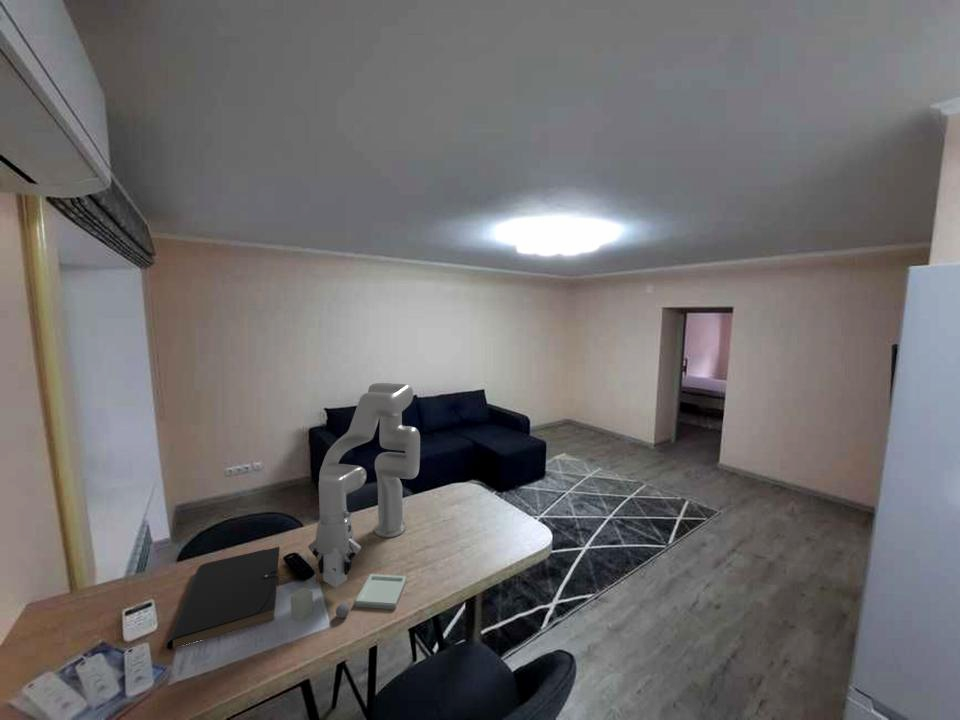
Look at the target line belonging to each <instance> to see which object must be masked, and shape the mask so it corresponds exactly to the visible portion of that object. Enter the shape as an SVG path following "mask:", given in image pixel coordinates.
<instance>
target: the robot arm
mask: <svg viewBox="0 0 960 720" xmlns="http://www.w3.org/2000/svg"><path fill="white" fill-rule="evenodd" d="M413 399H414V391H413V387H411V385H409V384H407V383H391V382H390V383H389V382H376V383H372V384H371V385H369V387H368V389H367V392H366V393H364V394H362V395H361V396H360V398H359V401H358V403H357V406H356V409H355V411H354V413H353V416H352V419H351V422H350V426H349V428H348V430H347V432H346V433H344V434H343V435H342V436H341V437H339V438H338V439H337V440H336V441H335V442H334V443H333V444H332V445H331V446H330V447H329V449H328V450H327V452H326V454H325V456H324V459H323V461H322V465H321V466H320V470H319V475H318V476H319V478H318V479H319V481H318V500H319V502H318V503H319V507H318V508H319V519H318V521H317V525H316V533H315V534H316V535H315V540H313V541H312V542H311V543H310V544H308V546H307V548H308V550H309V551H310V552H311V553H312V555H313V556H314V557H315V558H316V559H315V560H316V561H317V563H318V567H319V571H320V573H323V553H324V554H331V553H332V549H333V548H339V554H342V555H343V557H344V559H345V562H344V574H345V575H347V576H348V574H349V572H350V571H352V568H353V563H352V562H353V559H354V557H356V555H357V554H358V553H359V552H360V550H361V549H362V546H361V545H360V544H359V543H357V542H356V541H355V540H354V530H353V525H352V521H351V518H350V517H351V516H352V512H349V511H348V508H347V496H348V494H350V493H353V492H355V491H357V490H359V489H361V487H362V486H363V485H364V484H365V483H366V480H367V471H366V469H365V468H364V467H362V466H360V465H355V464H348V463H347V464H346V463H339V462H340V461H341V459H342V457H343V456H345V454H346V453H347V452H348V451H350V450H352V449H354V448H356V447H358V446H361V445H364V444H366V443H369V442H371V441H372V440H373V439H374V436H375V433H376V430H377V427H378V424H379V445H380V447H381V448H383V449H384V450H385V449H386V450H393V451H402V452H393V451H386V452H381V453H379V454H378V455H377V456H376V458H375V460H374V470H375V474H376V479H377V482H376V483H377V514H378V522H377V523H376V524H375V525H374V529H373V530H374V534H376V536H379V537H382V538H393V537H397V536H400V535H402V534H403V533H405V531H406V530H407V528H408V527H407V522H405V520H403V517H404V516H403V513H404V512H403V484H402V481H401V480H400V479H405V480H413V479H415V478H416V477H417V476H418V474H419V471H420V463H421V462H420V461H421V434H420V432H419V430H418V428H416V427H414V426H410V425H407V426H406V425H403V422H402V420H403V416H402V415H403V414H402V413H403V411H405V410H406V409H407V408H408V407H409V406H410V405H411V404H412V402H413ZM403 451H404V452H403ZM351 548H352V549H353V551H352V549H351Z"/></svg>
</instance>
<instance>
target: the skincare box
mask: <svg viewBox="0 0 960 720" xmlns="http://www.w3.org/2000/svg"><path fill="white" fill-rule="evenodd" d="M344 562H345V559H344V557H343V555H342V554H339V548H333V549H332V553H331V554H324V553H323V580H324V581H325V583H327V584H328V585H330V586H332V587H333V588H337V587H339V586H340V585H342V584H343V583H344V582H345V581H347V580H348V574H347V575H345V574H344Z"/></svg>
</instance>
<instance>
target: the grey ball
mask: <svg viewBox="0 0 960 720" xmlns="http://www.w3.org/2000/svg"><path fill="white" fill-rule="evenodd" d="M349 613H350V605H349V604H348V603H347V602H342V603H339V604H338V606H337V607H336V609H335V614H336V617H338V618H339V619H344V618H346V617H347V616H348V615H349Z"/></svg>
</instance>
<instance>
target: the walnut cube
mask: <svg viewBox="0 0 960 720" xmlns="http://www.w3.org/2000/svg"><path fill="white" fill-rule="evenodd" d="M315 582H316V583H323V582H325V581H324V580H323V573H320V571H319V567H318V562H317V563H316V566H315ZM325 583H326V582H325Z"/></svg>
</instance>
